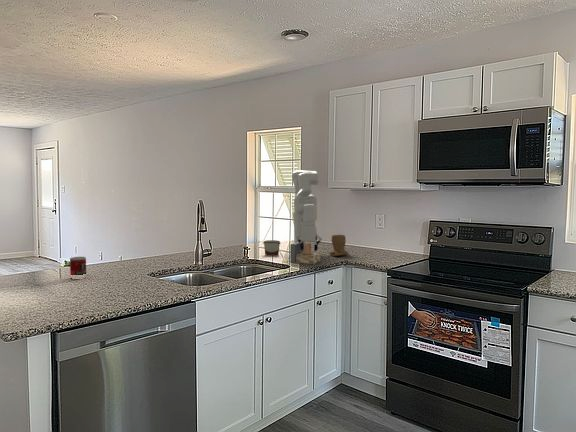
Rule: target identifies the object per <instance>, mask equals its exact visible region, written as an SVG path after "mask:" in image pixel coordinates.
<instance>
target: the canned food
mask: <svg viewBox="0 0 576 432" xmlns="http://www.w3.org/2000/svg"><path fill="white" fill-rule="evenodd" d="M69 266H70V267H69V268H70V269H69V271H70V272H69V273H70V275H83V274H86V275H87V258H86V256H74V257H70V258H69Z"/></svg>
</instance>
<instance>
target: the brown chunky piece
mask: <svg viewBox="0 0 576 432" xmlns="http://www.w3.org/2000/svg"><path fill="white" fill-rule="evenodd" d="M331 243H332V247H333V250H332V251H330V252H329V255H331V256H332V257H341V256H346V255H349V254H350V252H348V251H346V250H345V246H346V244H347V243H346V235H345V234H332V235H331Z"/></svg>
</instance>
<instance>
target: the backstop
mask: <svg viewBox="0 0 576 432" xmlns="http://www.w3.org/2000/svg"><path fill="white" fill-rule="evenodd" d="M289 247H290V248H289V249H290V250H289V251H290V252H289V253H290V255H289V256H290V257H289V260H290V264H291V263H292V264H296V255H297V254H300V253H302V252H303V250H301V248H300V243H299V242H296V243H294V242H292V243H290V245H289Z"/></svg>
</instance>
